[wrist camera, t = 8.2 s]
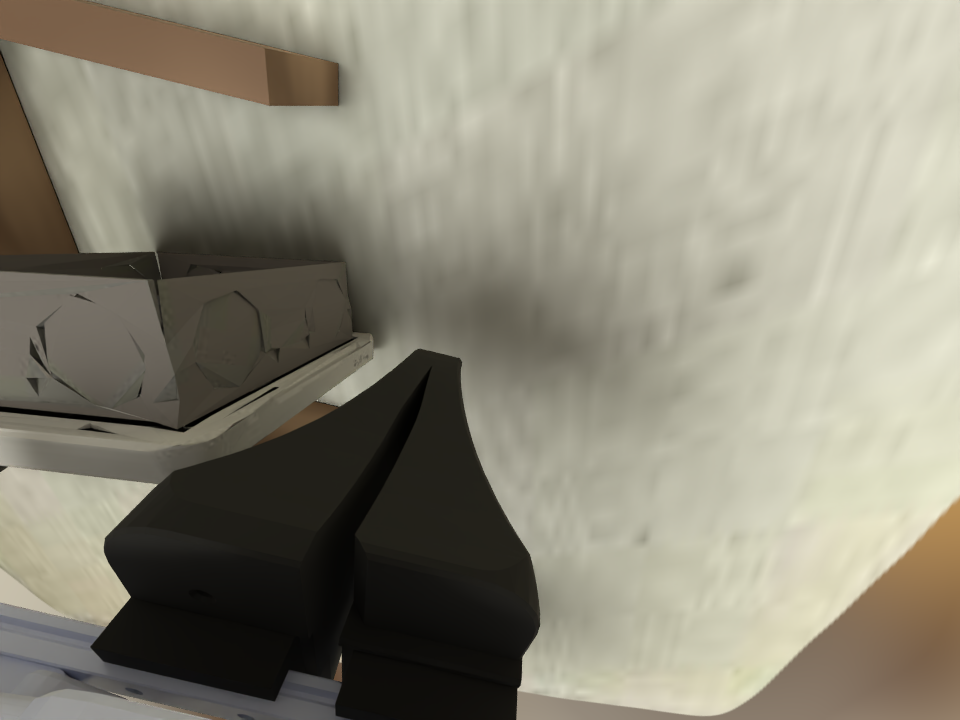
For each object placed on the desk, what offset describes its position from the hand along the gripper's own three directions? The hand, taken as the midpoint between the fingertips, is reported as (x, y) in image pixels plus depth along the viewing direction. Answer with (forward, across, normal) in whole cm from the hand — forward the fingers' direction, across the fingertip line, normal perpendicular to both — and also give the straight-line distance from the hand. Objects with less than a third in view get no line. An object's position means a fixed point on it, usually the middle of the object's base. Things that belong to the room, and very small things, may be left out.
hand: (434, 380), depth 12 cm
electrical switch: (+4, +8, 0) cm, 9 cm away
